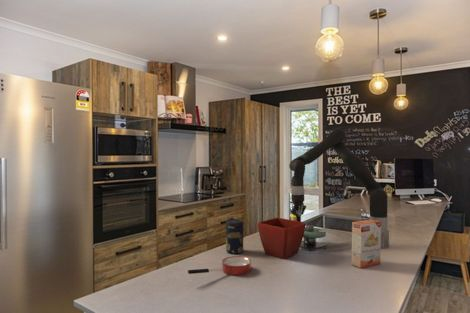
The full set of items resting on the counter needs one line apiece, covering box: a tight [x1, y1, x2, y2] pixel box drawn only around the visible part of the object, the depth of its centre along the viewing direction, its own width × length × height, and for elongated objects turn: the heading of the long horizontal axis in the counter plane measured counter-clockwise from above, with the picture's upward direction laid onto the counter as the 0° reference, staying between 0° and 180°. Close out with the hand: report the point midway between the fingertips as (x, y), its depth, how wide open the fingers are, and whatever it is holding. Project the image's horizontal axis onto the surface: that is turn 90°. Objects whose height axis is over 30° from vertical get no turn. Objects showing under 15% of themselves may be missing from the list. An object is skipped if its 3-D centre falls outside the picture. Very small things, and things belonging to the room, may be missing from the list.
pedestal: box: [299, 237, 328, 252], centre depth 179 cm, size 14×14×7 cm
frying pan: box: [187, 255, 252, 276], centre depth 135 cm, size 32×13×6 cm, turn 136°
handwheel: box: [290, 216, 327, 239], centre depth 179 cm, size 20×18×9 cm
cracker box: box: [351, 219, 382, 269], centre depth 149 cm, size 14×6×21 cm, turn 117°
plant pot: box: [257, 217, 307, 260], centre depth 165 cm, size 19×19×17 cm
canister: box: [225, 218, 244, 254], centre depth 168 cm, size 10×10×18 cm
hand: (298, 222), depth 184 cm, fingers closed
